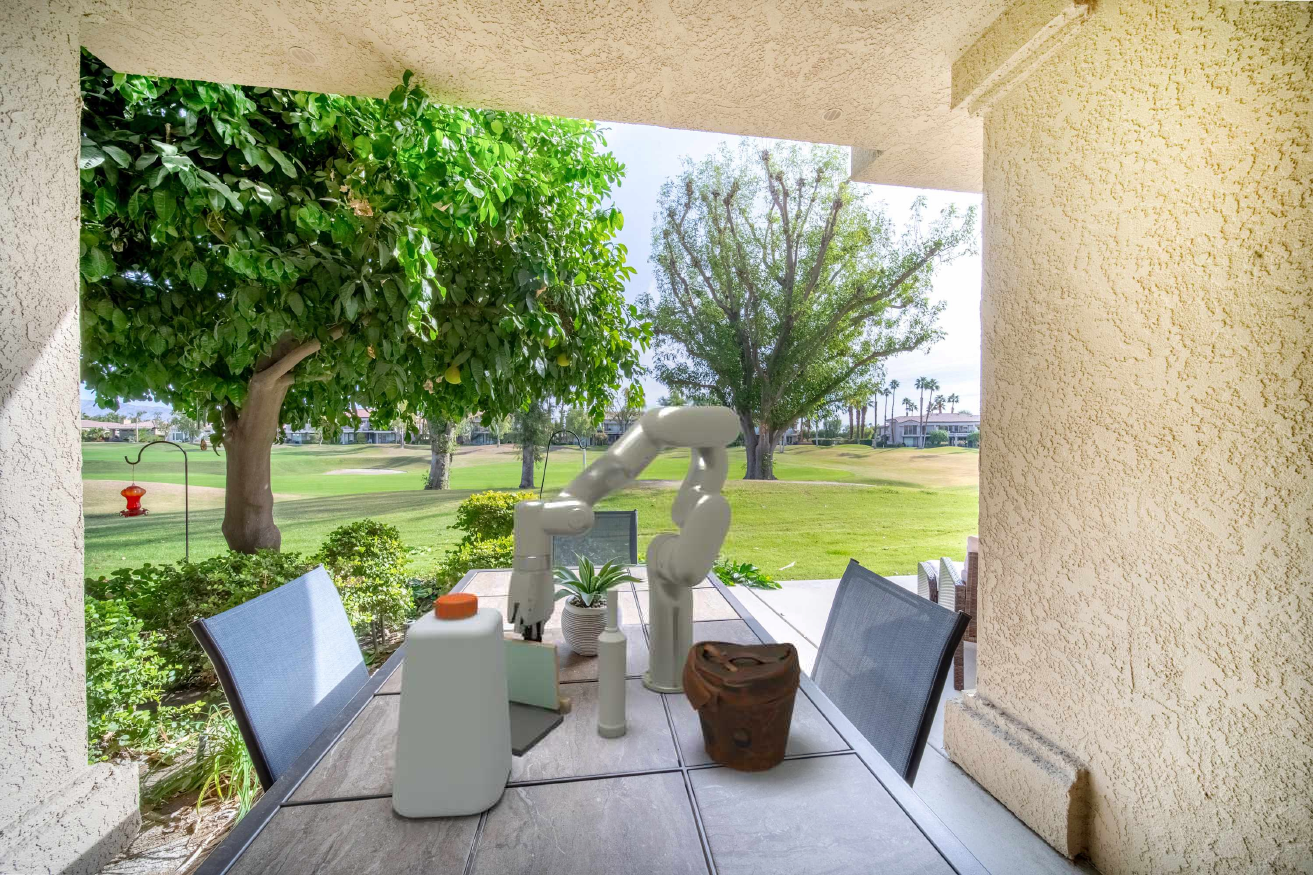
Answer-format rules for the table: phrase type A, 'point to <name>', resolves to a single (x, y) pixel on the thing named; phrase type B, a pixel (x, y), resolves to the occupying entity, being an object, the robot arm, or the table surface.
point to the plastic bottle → (453, 712)
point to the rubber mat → (530, 727)
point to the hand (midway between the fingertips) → (532, 656)
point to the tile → (532, 673)
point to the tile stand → (564, 708)
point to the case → (743, 700)
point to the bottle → (612, 672)
